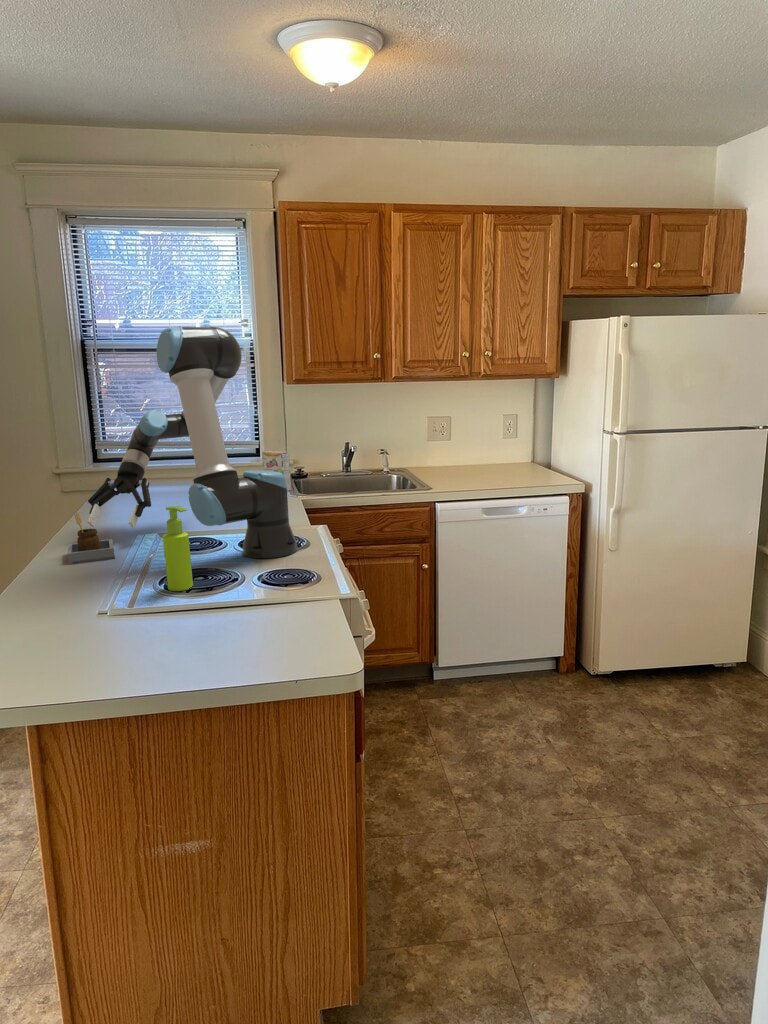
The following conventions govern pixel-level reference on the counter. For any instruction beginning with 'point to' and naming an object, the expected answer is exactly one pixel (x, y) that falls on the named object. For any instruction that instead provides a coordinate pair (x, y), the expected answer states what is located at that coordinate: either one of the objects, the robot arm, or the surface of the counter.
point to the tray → (91, 553)
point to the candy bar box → (277, 464)
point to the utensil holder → (87, 537)
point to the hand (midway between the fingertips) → (110, 524)
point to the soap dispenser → (177, 553)
